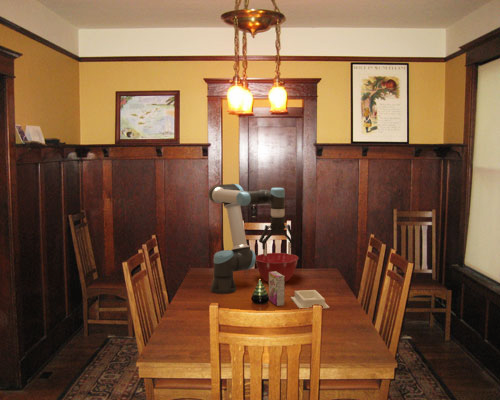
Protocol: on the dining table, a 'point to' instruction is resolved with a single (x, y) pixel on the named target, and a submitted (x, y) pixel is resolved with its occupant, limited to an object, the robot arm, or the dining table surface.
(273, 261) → the mixing bowl
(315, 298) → the beige shallow square tray
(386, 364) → the dining table surface
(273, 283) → the candy bar box
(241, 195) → the robot arm
